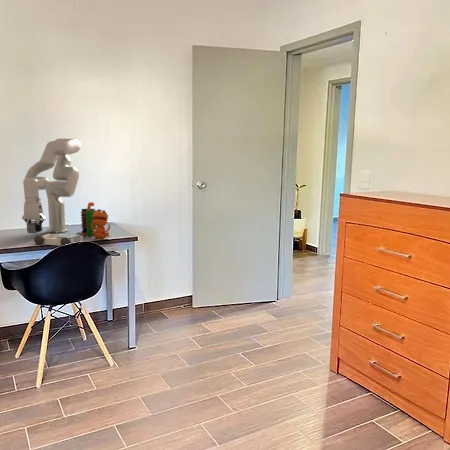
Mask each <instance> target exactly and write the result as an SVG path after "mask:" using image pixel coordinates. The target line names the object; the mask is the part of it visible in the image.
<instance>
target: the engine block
mask: <svg viewBox="0 0 450 450" xmlns="http://www.w3.org/2000/svg"><path fill="white" fill-rule="evenodd" d="M26 231H27V233H26V234H37V233H39V232H43V223H42V224H41V231H39V232H37V222H36V220H32V221H31V223H30V224H26Z"/></svg>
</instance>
